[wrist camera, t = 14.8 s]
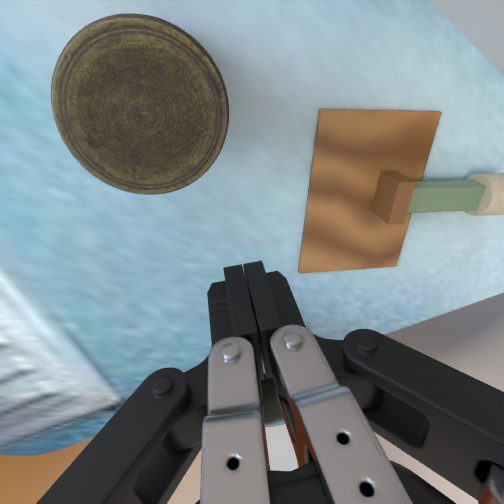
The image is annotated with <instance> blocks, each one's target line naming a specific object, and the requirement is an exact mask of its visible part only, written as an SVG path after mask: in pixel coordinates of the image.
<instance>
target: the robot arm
mask: <svg viewBox="0 0 504 504" xmlns="http://www.w3.org/2000/svg"><path fill="white" fill-rule="evenodd" d="M243 267H244V271H243ZM243 267H242V264H241V265H236V266H230V267H225V268H224V275H225V281H221V282H216V283H212V284H211V287H210V289H209V291H208V293H207V294H208V304H209V305H208V306H209V317H210V329H211V340H212V347H211V350H210V352H209V355H208V356H207V358H206V359H205V360H204V361H203V362H202V363H200V364H199V365H198V366H196V367H194V368H192V369H190V370H188V371H186V372H184V373H183V372H182V371H181V370H179V369H176V368H163V369H160V370H157V371H155V372H154V373H152V374H151V375H149V376H148V377H147V378H146V379H145V380H144V381H143V383H142V384H141V385H140V386H139V387H138V388H137V389H136V391H135V392H134V393H133V394H132V395H131V396H130V397H129V398H128V400H127V401H126V402H125V403H124V404H123V405H122V406H121V408H120V409H119V410H118V411H117V412H116V413H115V414H114V416H113V417H112V418H111V419H110V420H109V421H108V422H107V424H106V425H105V426H104V427H103V428H102V429H101V430H100V432H99V433H98V434H97V435H96V436H95V437H94V438H93V440H92V441H91V442H90V443H89V444H88V445H87V446H86V448H85V449H84V450H83V451H82V452H81V454H79V456H78V457H77V458H76V459H75V460H74V461H73V462H72V464H71V465H70V466H69V467H68V468H67V469H66V470H65V471H64V473H63V474H62V475H61V476H60V477H59V479H57V481H56V482H55V483H54V484H53V485H52V486H51V487H50V489H49V490H48V491H47V492H46V493H45V495H43V497H42V498H41V499H40V500H39V501H38V502H37V503H36V504H167V502H168V501H169V499H170V498H171V496H172V494H173V493H174V491H175V490H176V488H177V486H178V485H179V483H180V481H181V480H182V478H183V477H184V475H185V474H186V472H187V470H188V469H189V467H190V466H191V464H192V462H193V461H194V459H195V458H196V456H197V454H198V453H199V451H200V450H201V448H202V457H201V488H200V500H199V501H198V502H197V503H196V504H456V503H455V502H453V501H452V500H451V499H449V498H448V497H447V496H445V495H444V494H442V493H441V492H439V491H438V490H437V489H435V488H434V487H433V486H431V485H430V484H429V483H427V482H426V481H425V480H423V479H422V478H420V477H419V476H418V475H416V474H415V473H413V472H412V471H411V470H409V469H407V468H405V467H404V466H402V465H400V464H397V463H395V462H393V461H391V460H389V459H388V457H387V456H386V454H385V452H384V450H383V448H382V447H381V445H380V443H379V441H378V439H377V437H376V436H375V434H374V432H375V433H377V434H378V435H380V436H382V437H383V438H384V439H386V440H387V441H389V442H391V443H392V444H393V445H395V446H397V447H398V448H400V449H401V450H402V451H404V452H405V453H407V454H409V455H410V456H412V457H413V458H415V459H416V460H418V461H419V462H421V463H422V464H424V465H425V466H427V467H428V468H430V469H431V470H433V471H434V472H436V473H437V474H439V475H440V476H442V477H443V478H445V479H446V480H448V481H450V482H451V483H452V484H454V485H455V486H457V487H458V488H460V489H461V490H463V491H464V492H466V493H467V494H469V495H470V496H472V497H474V498H475V499H476V500H478V503H479V504H504V392H502V391H500V390H498V389H496V388H494V387H492V386H489V385H488V384H486V383H483V382H481V381H479V380H477V379H475V378H473V377H471V376H468V375H467V374H465V373H462V372H460V371H458V370H456V369H454V368H452V367H450V366H448V365H446V364H444V363H441V362H439V361H437V360H435V359H433V358H431V357H429V356H427V355H425V354H422V353H420V352H418V351H416V350H414V349H412V348H410V347H408V346H406V345H404V344H402V343H399V342H397V341H395V340H393V339H391V338H389V337H387V336H385V335H383V334H381V333H378V332H376V331H373V330H369V329H358V330H354V331H352V332H350V333H348V334H347V335H346V337H345V338H344V340H333V339H325V338H321V337H318V336H316V335H314V334H313V333H312V332H311V331H310V330H308V329H307V328H306V326H305V324H304V322H303V319H302V317H301V314H300V312H299V309H298V307H297V304H296V302H295V299H294V297H293V294H292V292H291V289H290V287H289V284H288V282H287V279H286V278H285V277H284V276H283V275H282V274H281V273H279V272H278V271H274V272H269V273H266V272H265V269H264V266H263V263H262V261H257V262H251V263H246V264H243ZM244 274H245V276H244ZM261 356H262V357H261ZM262 361H263V363H262ZM263 365H264V369H265V374H266V378H267V379H268V378H272V377H273V379H274V383H275V387H276V394H277V400H278V403H279V406H280V409H281V412H282V415H283V418H284V421H285V424H286V426H287V429H288V432H289V435H290V438H291V441H292V444H293V447H294V450H295V454H296V457H297V461H298V466H299V468H297V469H295V470H293V471H270V465H269V458H268V450H267V441H266V434H265V425H264V417H263V408H262V388H261V382H260V380H263V379H265V377H264V370H263ZM373 431H374V432H373Z"/></svg>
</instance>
